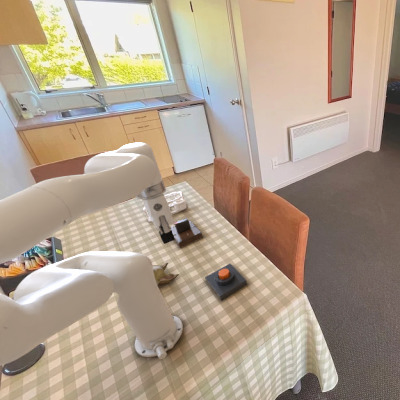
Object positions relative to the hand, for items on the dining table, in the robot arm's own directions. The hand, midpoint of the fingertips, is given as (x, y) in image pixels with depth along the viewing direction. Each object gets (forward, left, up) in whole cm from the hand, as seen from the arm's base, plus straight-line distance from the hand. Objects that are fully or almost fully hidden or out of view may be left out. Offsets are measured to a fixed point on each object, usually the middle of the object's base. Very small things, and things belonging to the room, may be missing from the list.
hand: (168, 240), depth 83 cm
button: (-7, -11, -19) cm, 23 cm away
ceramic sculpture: (+11, +8, -23) cm, 27 cm away
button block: (-7, -11, -23) cm, 26 cm away
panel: (+32, -11, -23) cm, 41 cm away
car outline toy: (+58, -12, -23) cm, 64 cm away
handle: (+32, -11, -19) cm, 39 cm away
